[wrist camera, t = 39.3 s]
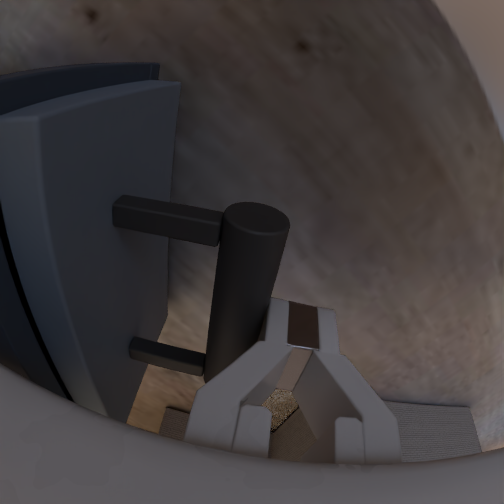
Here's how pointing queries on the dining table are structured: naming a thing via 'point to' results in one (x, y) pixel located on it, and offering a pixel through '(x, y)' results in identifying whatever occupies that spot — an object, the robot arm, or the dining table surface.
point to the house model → (409, 426)
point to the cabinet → (3, 287)
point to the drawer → (121, 242)
